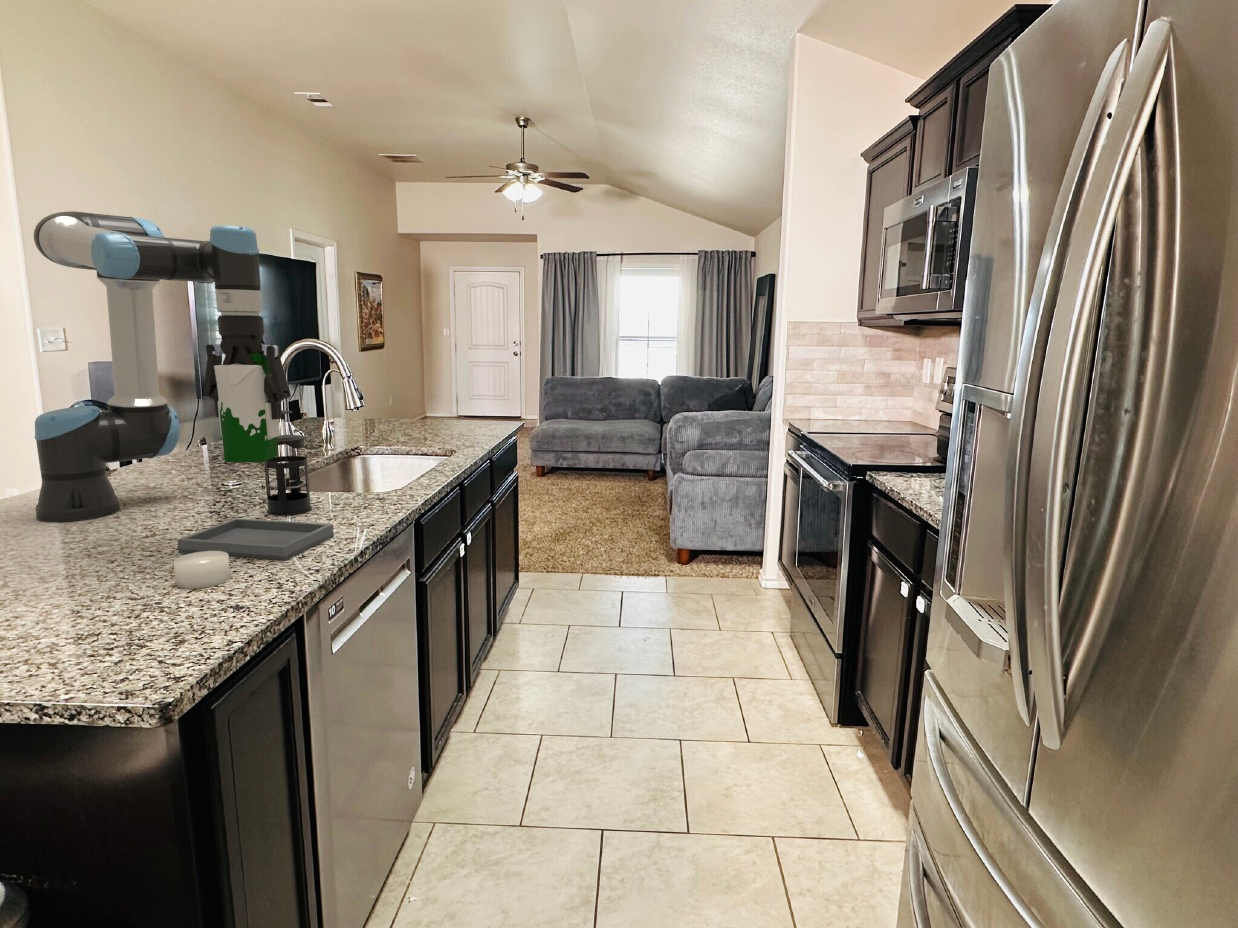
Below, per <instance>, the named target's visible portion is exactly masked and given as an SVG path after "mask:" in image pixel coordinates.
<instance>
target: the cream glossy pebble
mask: <svg viewBox="0 0 1238 928" xmlns="http://www.w3.org/2000/svg"><path fill="white" fill-rule="evenodd" d="M173 567H174V577H175V584H176V587H178V588H182V589H203V588H204V589H205V588H209V587H215V586H219V585H221V584H223V583H226V582H227V581H229V580H230V579H231V578H232V577H231V568H230V556H229V555H228V553H226V552H222V551H202V552H195V553H185V554H183V555H181V556H178V557H176V558H175V559H174V560H173Z"/></svg>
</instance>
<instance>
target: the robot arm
mask: <svg viewBox="0 0 1238 928" xmlns="http://www.w3.org/2000/svg"><path fill="white" fill-rule="evenodd" d="M209 234H210V235H209V240H198V239H196V240H195V239H187V238H186V239H185V238H175V237H174V238H173V237H165V236H164V234H163V232H162V230H161V228H160V227H159V226H158V225H157V224H156V223H154V222H153V221H151V220H150V219H145V218H138V217H135V216H134V217H133V216H123V215H113V214H105V213H104V214H102V213H101V214H100V213H93V212H92V213H91V212H83V211H60V212H56V213H51V214H49V215H47V216H45V217H44V218H41V220H39V221H38V223H37V224H36V225H35V228H34V231H33V241H34V244H35V247H36V248H37V250H38V252H39V253H40V254H41V255H42V256H43V257H44V258H45V259H47V260H49V261H50V262H52V263H55V264H58V265H60V266H62V267H63V266H64V267H67V268H74V269H80V270H89V271H96V278H97V280H98V281H100V283H102V284H103V285H104V286H105V288H106V299H107V311H108V313H107V314H108V323H109V335H110V347H111V358H112V359H111V361H112V362H111V363H112V374H113V386H114V395H113V396H112V397H111V398H109V399H108V401H107V410H105V411H104V410H103V411H101V410H100V408H99V407H98V406H96V405H84V406H82V405H81V406H72V407H64V408H59V409H54V410H50V411H47V412H44V413H42V414H39V415H38V416H37V417H36V418H35V420H34V440H35V441H36V448H37V455H38V464H39V469H40V478H41V486H40V492H39V496H38V500H37V504H36V507H35V516H36V519H37V520H38V521H42V522H52V523H53V522H54V523H55V522H74V521H75V522H77V521H83V520H90V519H96V518H101V517H104V516H110V515H112V514H115V513H117V512H119V511H120V509H121V505H120V499H119V497H118V496H117V495H116V493H115V490H114V488H113V486H112V484H111V482H110V480H109V477H108V473H107V464H109V463H117V462H126V461H134V460H135V461H137V460H140V459H149V460H150V459H154V458H158V457H164V456H168V455H170V454H171V453H173V451H174V450H175V448H176V447H177V445H178V442H179V439H180V434H181V433H180V432H181V430H180V428H181V427H180V426H181V425H180V421H179V420H180V419H178V418H179V417H178V414H177V412H176V410H175V409H174V408H173V407H172V406H169V405H168V400H167V399H166V398H165V397H164V396H162V395H161V394H160V386H159V373H158V372H159V369H158V358H157V357H158V355H157V339H156V338H157V337H156V326H155V311H154V297H153V296H154V295H153V290H154V288H155V287H156V286H157V285H159V284H160V283H161V281H162V280H163V281H175V282H176V281H177V282H195V283H199V284H208V285H209V284H213V283H214V291H215V302H216V311H217V312H218V313H220V314H221V315H218V317H217V325H218V326H217V327H218V328H217V329H218V334H219V335H220V337H221V341H220V344H217V343H216V344H215V343H213V344H211V343H209V344H206V346H205V351H206V356H207V357H206V358H207V360H206V367H205V376H204V377H205V378H204V384H203V396H204V397H205V398H210V399H212V400H213V401H214V411H215V416H216V418H218V422H219V431H220V432H219V433H220V436H221V437H222V431H221V420H220V409H219V398H218V387H217V381H216V375H215V369H214V366H216V365H231V364H236V363H237V364H244V363H245V361H244V358H245V360H246V362H247V364H248V365H257V364H256V363H255V362H254V360H253V359H252V357H251V355H250V354H261V353H264V355H265V356H266V359H267V363H268V367H269V370H270V373H269V372H268V374H267V375H266V376H265V378H264V393H265V394H266V396H267V398H268V400H267V403H265V413H266V425H267V438H272V437H276V436H280V435H281V432H280V431H281V430H280V420H281V418H282V401H284V400H286V399H289V398H291V395H292V394H291V391H290V388H289V384H288V380H287V376H286V373H285V370H284V365H283V363H282V360H281V351H282V350H281V346H280V345H276V344H274V345H269V344H266V343H265V341H264V335H265V325H264V322H265V321H264V317H263V316H262V315H260V313H261V314H262V313H263V312H264V309H263V299H262V298H263V297H262V289H261V271H260V256H259V254H260V249H259V247H258V239H257V234H256V231H255V230H254V229H252V228H250V227H247V226H238V225H214V226H212V227H211V228H210V233H209ZM160 280H161V281H160ZM223 354H224V358H223ZM270 374H271V375H270Z"/></svg>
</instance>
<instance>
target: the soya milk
mask: <svg viewBox="0 0 1238 928" xmlns="http://www.w3.org/2000/svg"><path fill="white" fill-rule="evenodd" d="M264 353H265V352H264ZM264 353H261V354H250V355H251V357H252V359H253V360H254V362H255V363H256V364H257V365H248V364H247V362H246V360H245V358H244V361H245V363H244V364H237V363H236V364H231V365H216V366H214V369H215V375H216V381H217V387H218V398H219V409H220V420H221V431H222V436H221V438H222V448H223V450H222V451H223V456H224V457H223V458H224V463H264V462H266V461H268V460H270V459H272V458H274V457H279V450H278V448H279V447H278V446H279V445H277V436H276V437H272V438H267V425H266V413H265V403H267V400H268V398H267V396H266V394H265V393H264V378H265V376H266V375H267V374H268V372H269V373H270V370H269V367H268V363H267V359H266V356H265V355H264ZM270 375H271V374H270Z"/></svg>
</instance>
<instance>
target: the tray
mask: <svg viewBox="0 0 1238 928" xmlns="http://www.w3.org/2000/svg"><path fill="white" fill-rule="evenodd" d="M334 535H335V534H334V524H333V523H318V522H305V521H304V522H301V521H288V520H287V521H286V520H274V519H258V518H239V517H234V518H232V519H229V520H226V521H224V522H222V523H218V524H216V525H212V526H211V527H207V528H205V529H202V530H200V531H199V530H198V531H197V532H194V533H192V534H189V535H186V536H184V537H181V538H179V539H176V542H177V552H178V553H179V554H190V553H195V552H202V551H222V552H226V553H228V555H229V558H230V557H233V558H245V559H246V558H247V559H248V558H249V559H258V560H260V559H261V560H262V559H263V560H272V561H273V560H274V561H287V560H289V559H291V558H293V557H295V556H297V555H299V554H302V553H304V552H306V551H308V550H309V549H311V548H313V547H315V546H317V545H319V544H321V543H323V542H325V541H326V540H329V539H331V538H333V537H334Z"/></svg>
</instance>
